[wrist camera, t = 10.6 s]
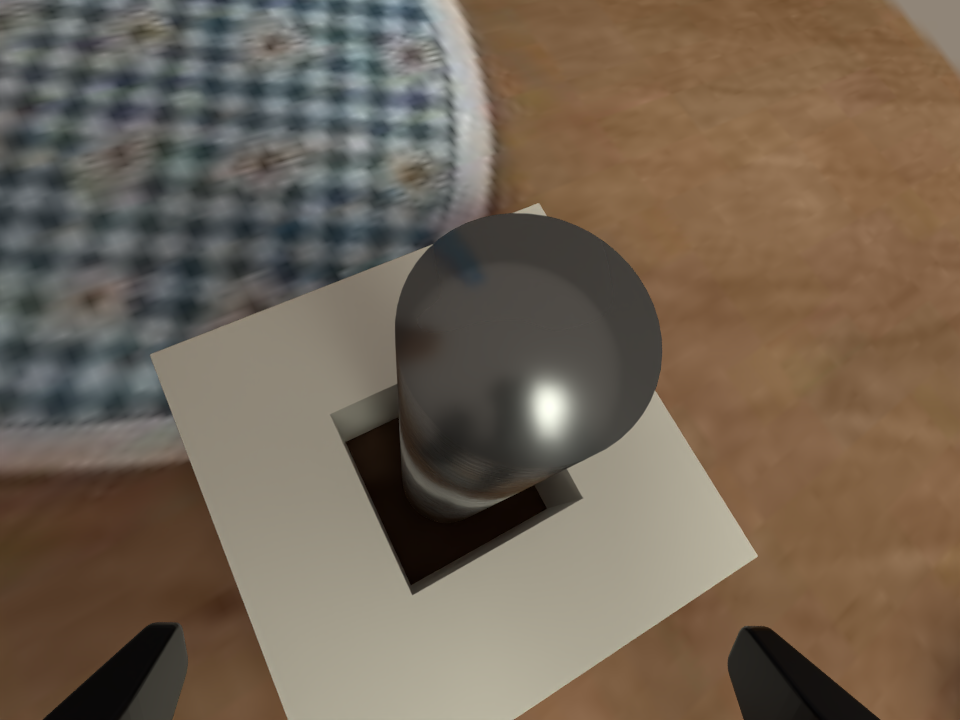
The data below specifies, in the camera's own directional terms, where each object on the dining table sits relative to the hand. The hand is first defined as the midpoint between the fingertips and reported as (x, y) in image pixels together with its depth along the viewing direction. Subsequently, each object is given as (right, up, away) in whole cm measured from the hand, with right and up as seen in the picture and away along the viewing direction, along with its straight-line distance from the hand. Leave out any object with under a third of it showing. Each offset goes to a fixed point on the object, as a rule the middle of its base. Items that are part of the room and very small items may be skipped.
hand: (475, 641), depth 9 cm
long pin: (-1, +1, +9) cm, 10 cm away
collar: (-1, +1, +9) cm, 10 cm away
